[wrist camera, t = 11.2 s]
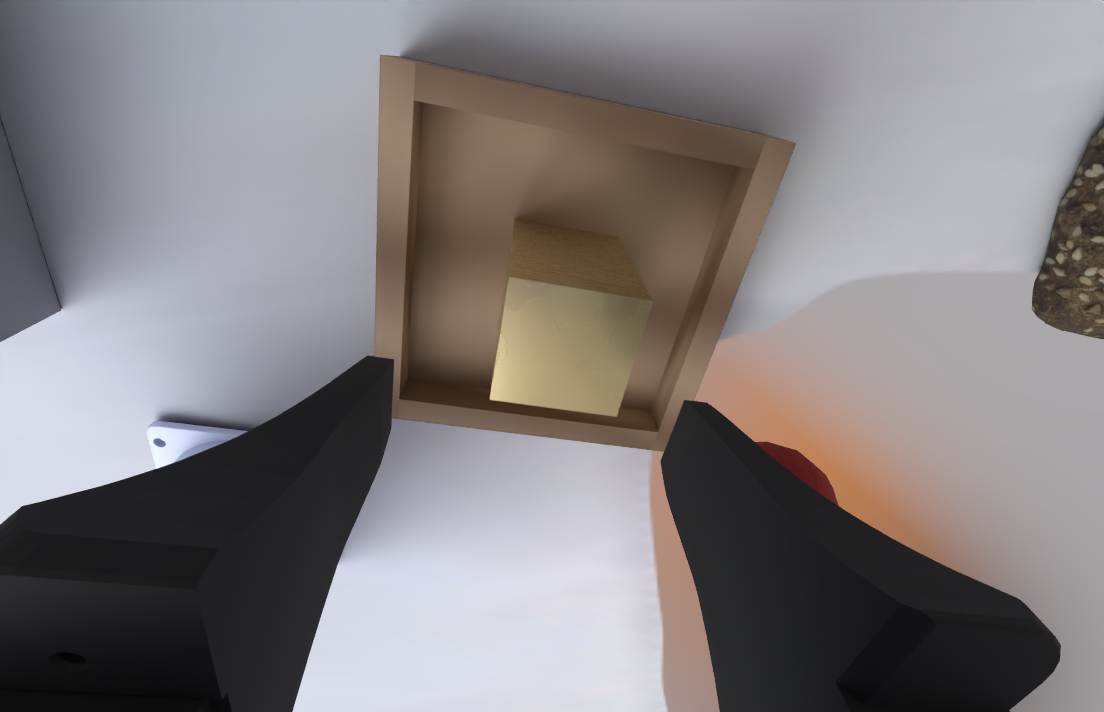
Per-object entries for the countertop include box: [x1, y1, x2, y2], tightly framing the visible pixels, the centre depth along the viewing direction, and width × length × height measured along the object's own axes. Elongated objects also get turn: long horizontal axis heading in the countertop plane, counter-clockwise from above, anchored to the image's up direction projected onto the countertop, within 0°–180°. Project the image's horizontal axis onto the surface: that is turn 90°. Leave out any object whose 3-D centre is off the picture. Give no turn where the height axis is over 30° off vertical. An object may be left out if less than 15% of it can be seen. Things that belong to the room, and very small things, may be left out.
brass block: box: [490, 218, 653, 417], centre depth 17 cm, size 4×4×6 cm
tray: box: [375, 55, 796, 452], centre depth 19 cm, size 13×13×2 cm
